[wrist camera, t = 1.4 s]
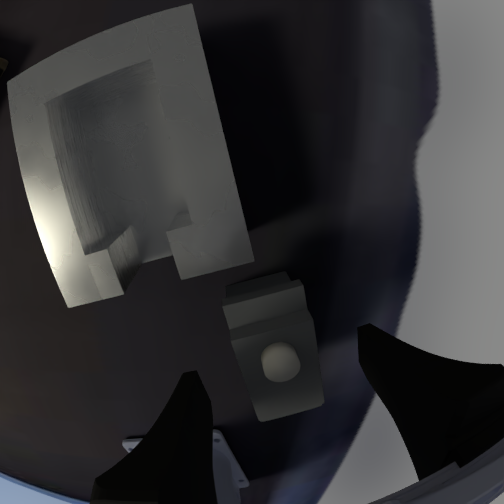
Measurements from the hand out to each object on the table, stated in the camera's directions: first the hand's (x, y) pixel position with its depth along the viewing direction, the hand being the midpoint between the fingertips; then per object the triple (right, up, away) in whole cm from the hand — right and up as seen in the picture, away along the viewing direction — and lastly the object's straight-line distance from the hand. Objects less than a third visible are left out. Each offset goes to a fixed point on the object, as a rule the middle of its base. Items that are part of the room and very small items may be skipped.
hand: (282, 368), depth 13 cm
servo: (-1, +1, +4) cm, 5 cm away
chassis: (-7, +9, +1) cm, 12 cm away
